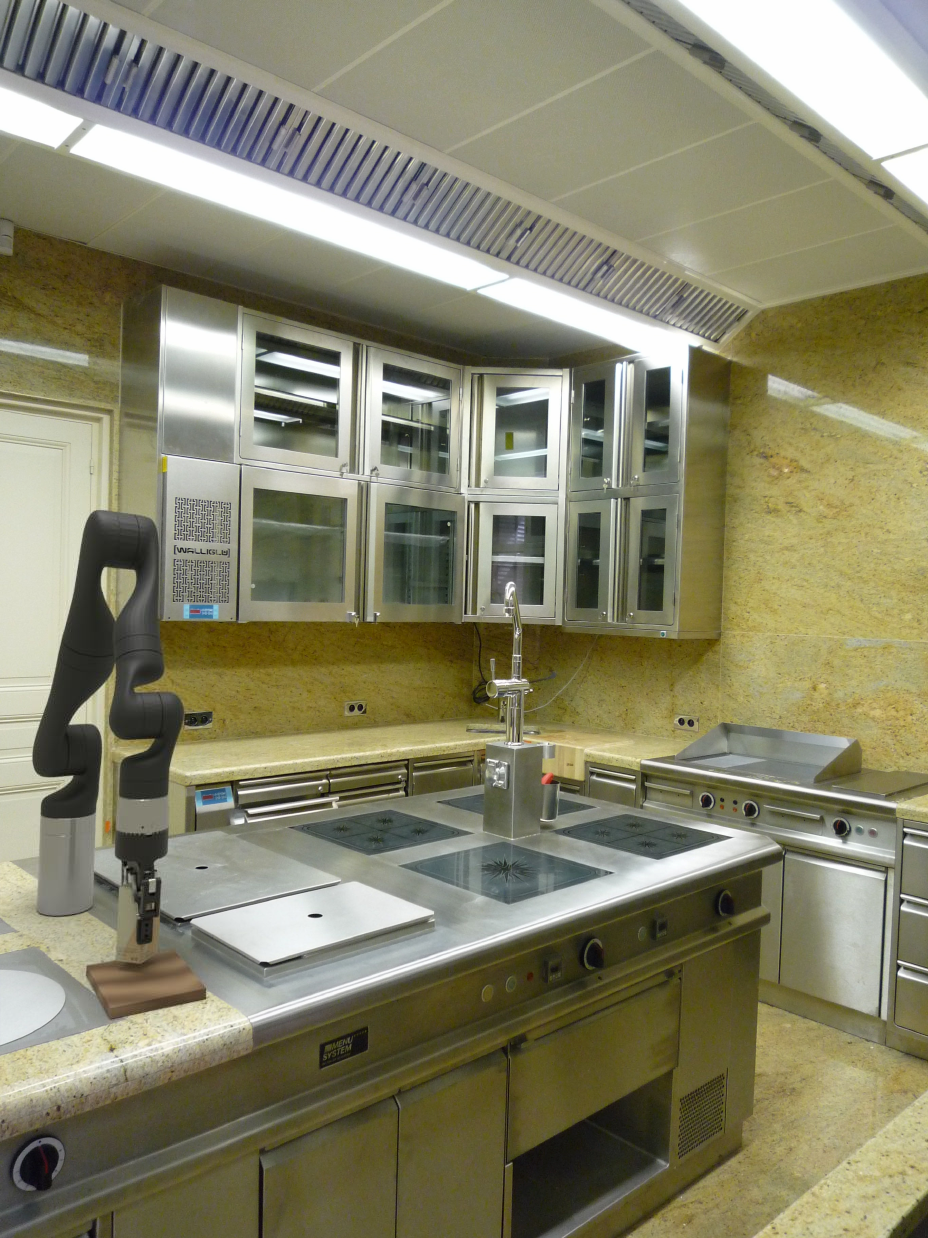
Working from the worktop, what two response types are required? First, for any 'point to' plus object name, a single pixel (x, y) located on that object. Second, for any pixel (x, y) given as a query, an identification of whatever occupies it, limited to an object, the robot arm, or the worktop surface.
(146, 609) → the robot arm
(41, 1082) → the worktop surface
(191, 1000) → the board
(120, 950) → the box
